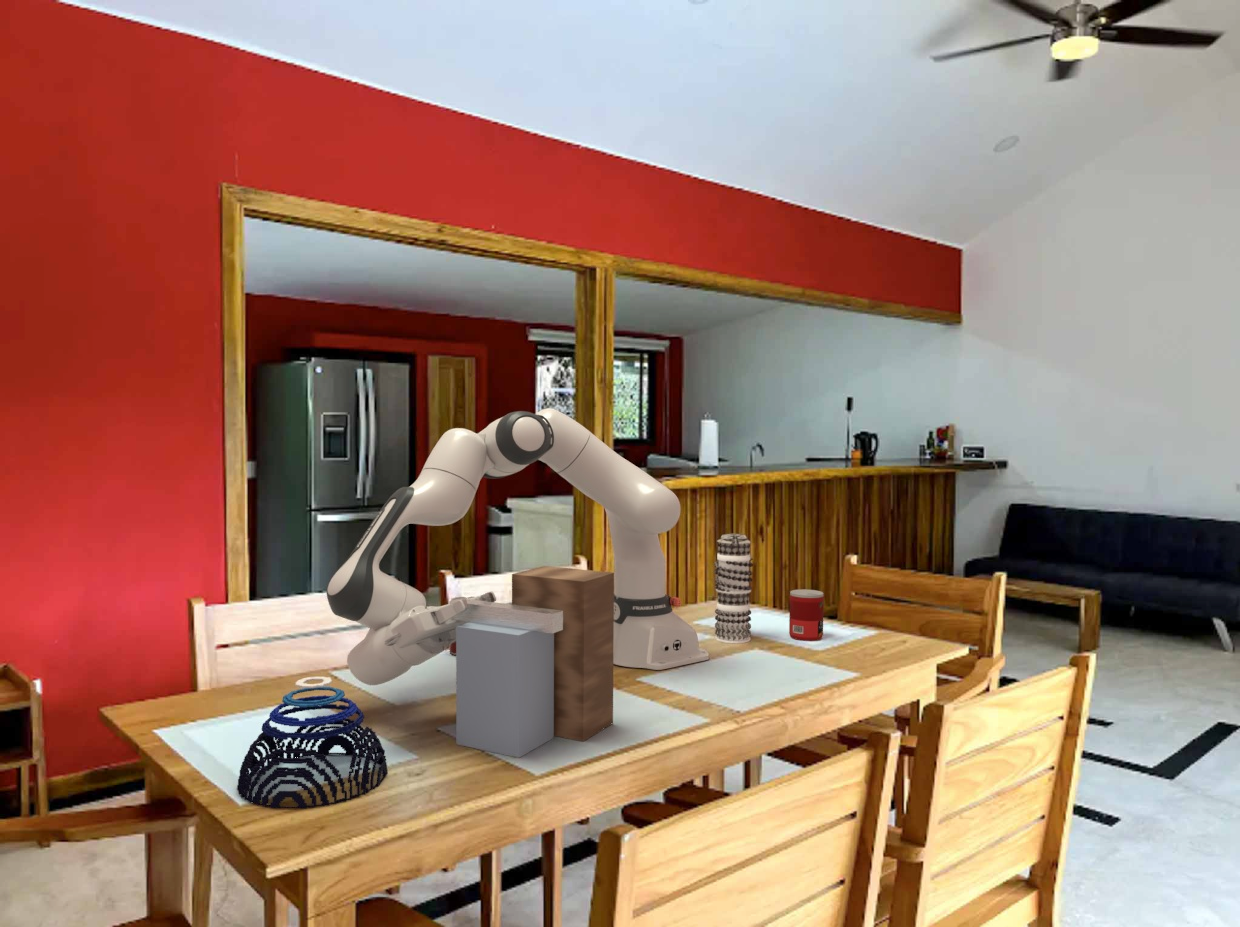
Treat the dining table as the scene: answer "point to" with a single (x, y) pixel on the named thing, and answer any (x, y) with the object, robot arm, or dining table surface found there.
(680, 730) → the dining table surface
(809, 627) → the canned food
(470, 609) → the pale speckled beam
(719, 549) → the decorative candle
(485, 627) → the slate-blue post
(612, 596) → the walnut post
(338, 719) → the navy layered dome
